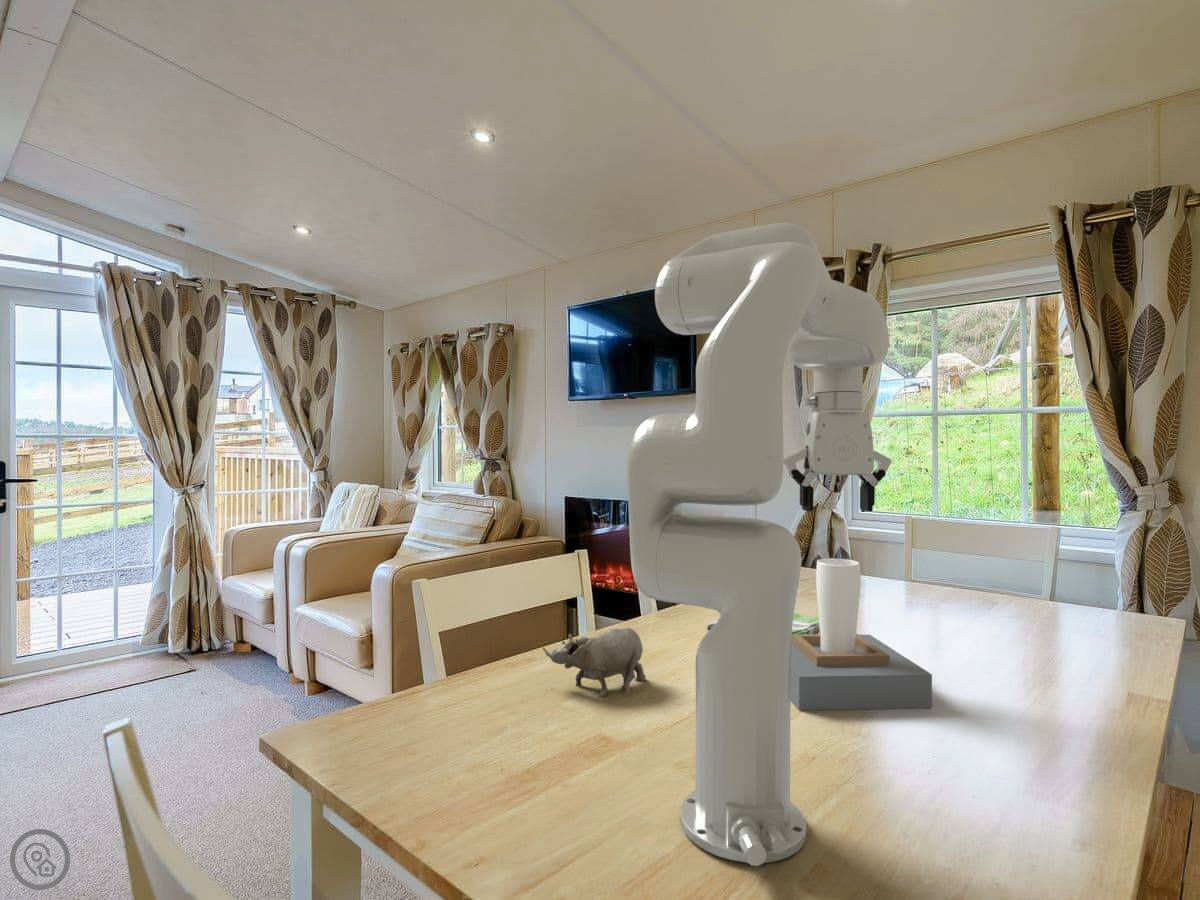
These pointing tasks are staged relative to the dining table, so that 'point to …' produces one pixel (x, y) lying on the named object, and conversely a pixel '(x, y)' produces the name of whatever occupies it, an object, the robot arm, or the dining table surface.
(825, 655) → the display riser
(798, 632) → the dish towel
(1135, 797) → the dining table surface
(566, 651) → the rhinoceros figurine
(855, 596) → the white tapered cylinder
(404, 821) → the dining table surface
